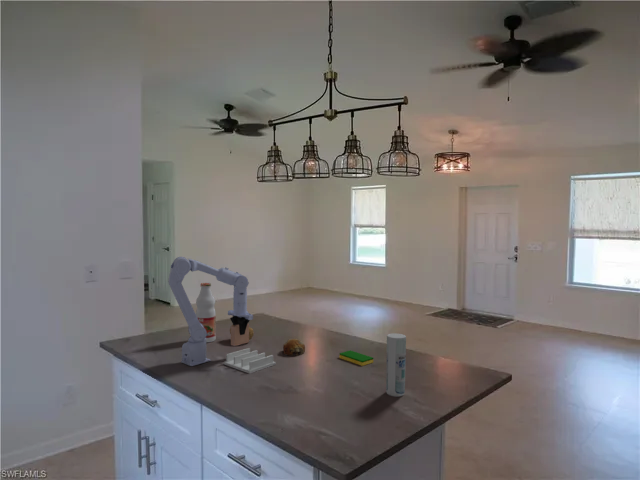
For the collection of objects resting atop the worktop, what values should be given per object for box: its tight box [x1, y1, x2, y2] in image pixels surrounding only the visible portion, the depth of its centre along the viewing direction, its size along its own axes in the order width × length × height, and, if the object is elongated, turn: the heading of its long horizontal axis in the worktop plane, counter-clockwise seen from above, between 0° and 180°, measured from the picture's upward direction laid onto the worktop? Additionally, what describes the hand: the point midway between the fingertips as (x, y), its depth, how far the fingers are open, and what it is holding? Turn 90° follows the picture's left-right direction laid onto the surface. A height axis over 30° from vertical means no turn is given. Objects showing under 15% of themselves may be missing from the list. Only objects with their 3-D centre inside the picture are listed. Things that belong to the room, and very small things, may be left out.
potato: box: [229, 324, 255, 341], centre depth 213 cm, size 10×14×8 cm
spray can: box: [385, 332, 407, 398], centre depth 151 cm, size 6×6×20 cm
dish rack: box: [223, 347, 277, 374], centre depth 179 cm, size 14×16×4 cm
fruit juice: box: [195, 282, 217, 344], centre depth 213 cm, size 9×9×28 cm
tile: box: [230, 323, 250, 347], centre depth 189 cm, size 8×2×8 cm, turn 140°
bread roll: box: [282, 338, 306, 357], centre depth 196 cm, size 10×10×8 cm
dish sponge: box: [338, 349, 374, 367], centre depth 186 cm, size 7×14×2 cm, turn 42°
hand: (240, 333), depth 189 cm, fingers closed on tile, 2 cm apart
